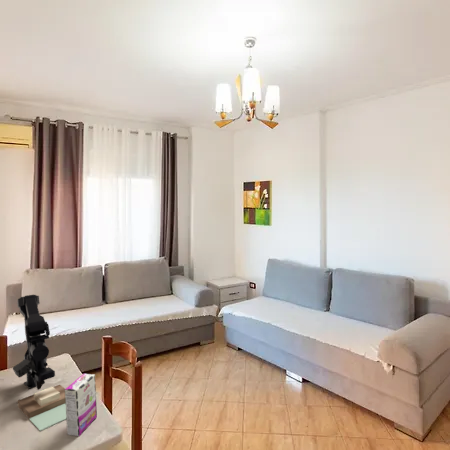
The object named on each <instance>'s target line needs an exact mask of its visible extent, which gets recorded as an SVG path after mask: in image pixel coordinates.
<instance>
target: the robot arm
mask: <svg viewBox="0 0 450 450" xmlns="http://www.w3.org/2000/svg"><path fill="white" fill-rule="evenodd" d="M16 305H17V308H18V309H19V313H20V314H21V315H22V316H23V318H24V332H25V333H24V334H25V341H26V347H27V348H26V351H25V352H24V353H25V354H24V355H23V359H22V361H20V362H18V363H17V364H16V365H14V366H13V367H12V370H13V372H14V374H15V375H16V376H17V377H18V378H22V377H23V376H26V381H24V382H23V385H25V386H26V387H27V389H33V388H34V387H35V388H36V390H37V391H39V390H41V389H42V386H43V384H45V383H46V380H49V379H51V378H54V377H55V376H56V371H55V370H54V369H53V368H51V367H47V366H48V364H49V363H48V362H47V361H48V359H47V358H48V356H49V354H50V349H49V347H48V345H47V343H46V340H49V338H50V335H51V333H50V328H49V327H50V326H49V323H48V322H47V321H46V320H45V318H44V316H43V315H41V314H40V311H39V307H38V306H39V305H40V296H39V295H37V294H29V295H24V296H20V297H19V298H17V302H16Z"/></svg>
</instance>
